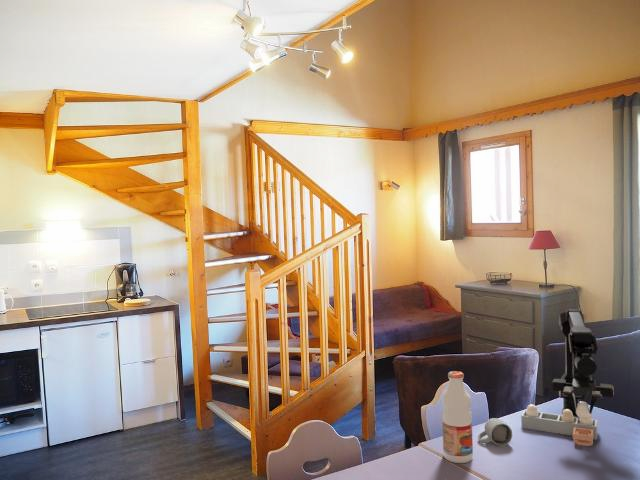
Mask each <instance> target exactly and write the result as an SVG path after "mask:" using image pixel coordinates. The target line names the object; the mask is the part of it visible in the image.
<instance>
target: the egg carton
mask: <svg viewBox="0 0 640 480" xmlns="http://www.w3.org/2000/svg"><path fill="white" fill-rule="evenodd" d="M562 410H563V409H562ZM520 417H521V429H528V430H532V431H533V430H535V431H539V432H548V433H553V434H559V433H560V434H561V435H565V434H566V435H565V436H571V435H572V437H573V430H574V427H576V428H583V429H589V430H593V432H594V436H593V440H597V439H598V419H593V418H592V413H591V414H590V415H589V417H587V418H580V417H579V416H574V415H573V413H572V411H571V410H569V409H565V410H563V412H562V411H561V414H556V413H551V412H550V413H548V412H542V411H538V408H537V405H535V404H531V403H530V404H529V405H528V406H527V407H526V409H523V412H522V414H521V416H520Z"/></svg>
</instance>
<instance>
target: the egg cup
mask: <svg viewBox="0 0 640 480" xmlns="http://www.w3.org/2000/svg"><path fill="white" fill-rule="evenodd" d="M593 436H594V432H593V430H589V429H583V428H576V427H574V430H573V436H572V439H573V443H574V444H575V445H578V446H581V447H592V446H593V445H594V439H593Z"/></svg>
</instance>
